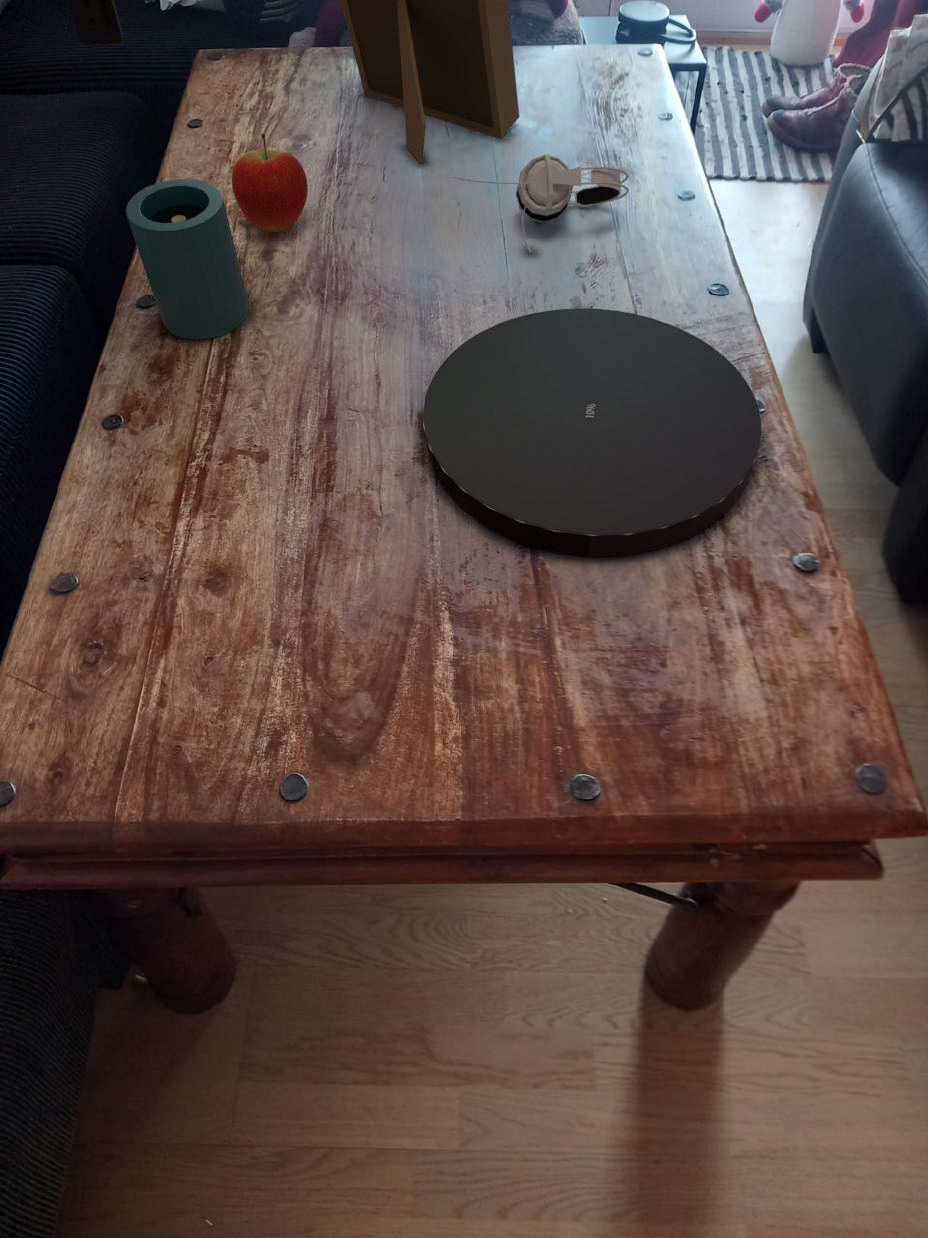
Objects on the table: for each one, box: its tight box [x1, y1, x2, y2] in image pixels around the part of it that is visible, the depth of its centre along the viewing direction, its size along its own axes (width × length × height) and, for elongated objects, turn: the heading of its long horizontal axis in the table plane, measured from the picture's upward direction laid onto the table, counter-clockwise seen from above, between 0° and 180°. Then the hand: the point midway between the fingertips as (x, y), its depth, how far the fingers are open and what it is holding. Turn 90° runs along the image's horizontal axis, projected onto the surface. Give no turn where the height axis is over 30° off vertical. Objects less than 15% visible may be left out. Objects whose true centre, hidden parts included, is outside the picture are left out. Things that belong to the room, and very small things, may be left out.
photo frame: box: [340, 0, 520, 163], centre depth 108 cm, size 15×22×25 cm
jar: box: [125, 178, 250, 341], centre depth 91 cm, size 9×9×12 cm
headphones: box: [452, 154, 630, 254], centre depth 101 cm, size 8×10×20 cm
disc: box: [422, 307, 762, 558], centre depth 83 cm, size 30×30×3 cm
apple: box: [231, 133, 309, 233], centre depth 102 cm, size 8×8×10 cm
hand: (115, 15), depth 73 cm, fingers open, 9 cm apart
